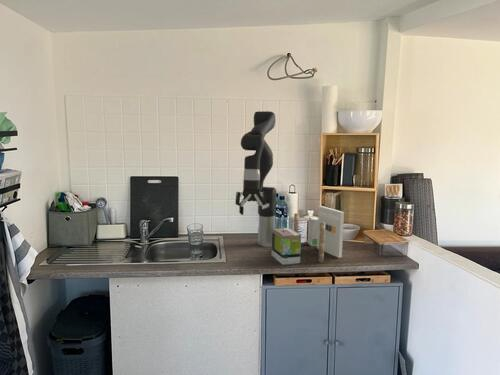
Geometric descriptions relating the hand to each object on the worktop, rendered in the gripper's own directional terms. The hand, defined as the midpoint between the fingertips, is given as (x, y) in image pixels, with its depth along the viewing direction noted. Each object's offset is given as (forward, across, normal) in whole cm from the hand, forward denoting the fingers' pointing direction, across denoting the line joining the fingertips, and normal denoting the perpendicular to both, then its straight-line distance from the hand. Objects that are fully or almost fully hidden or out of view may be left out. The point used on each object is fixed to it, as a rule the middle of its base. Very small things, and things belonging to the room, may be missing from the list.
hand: (250, 214), depth 171 cm
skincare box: (+23, -50, -28) cm, 62 cm away
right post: (+25, -38, -1) cm, 46 cm away
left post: (+24, -35, -23) cm, 48 cm away
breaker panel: (+24, -50, -12) cm, 57 cm away
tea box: (+25, -23, -10) cm, 36 cm away
